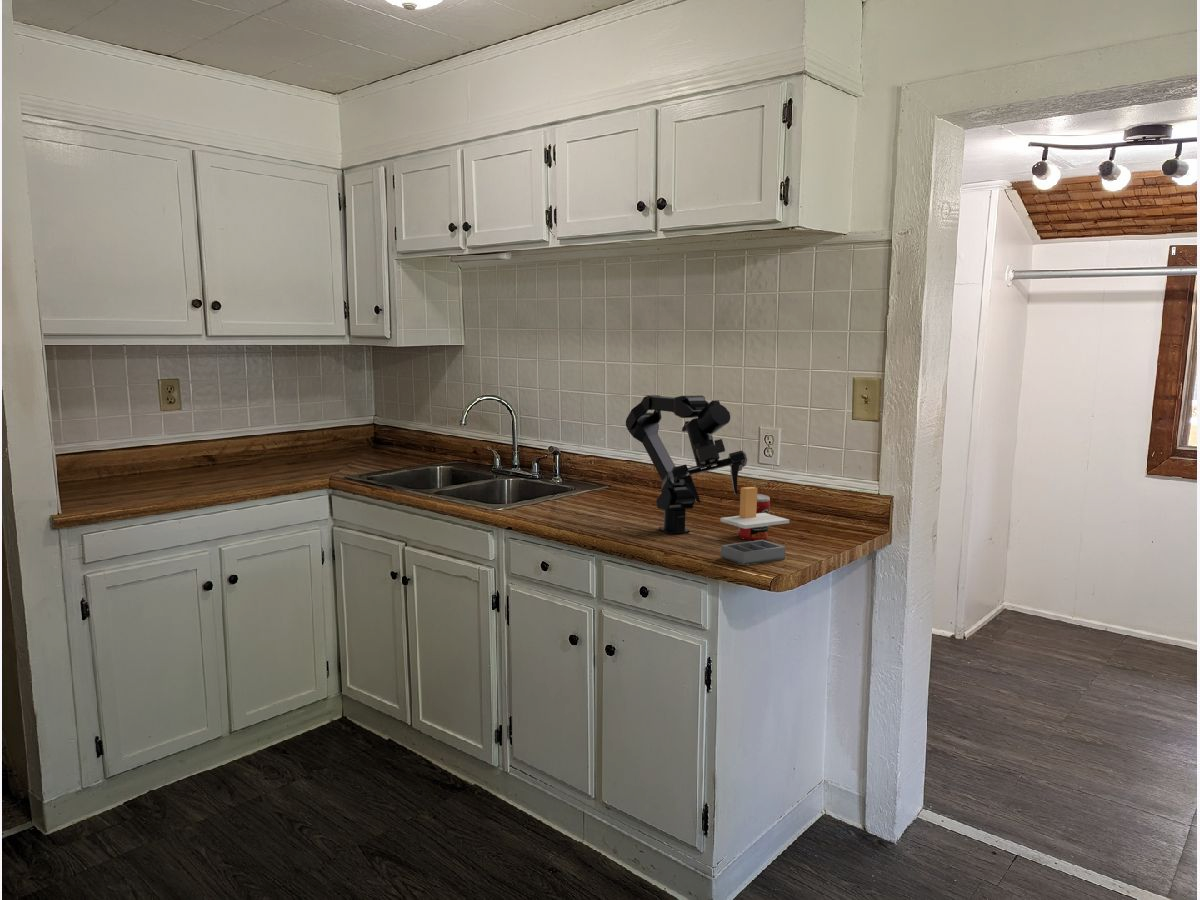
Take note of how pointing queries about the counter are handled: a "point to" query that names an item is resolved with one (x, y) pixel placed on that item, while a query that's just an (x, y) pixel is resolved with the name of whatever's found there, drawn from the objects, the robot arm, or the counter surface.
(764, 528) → the canned food
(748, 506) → the lid
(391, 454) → the counter surface
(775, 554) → the tub
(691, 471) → the robot arm
